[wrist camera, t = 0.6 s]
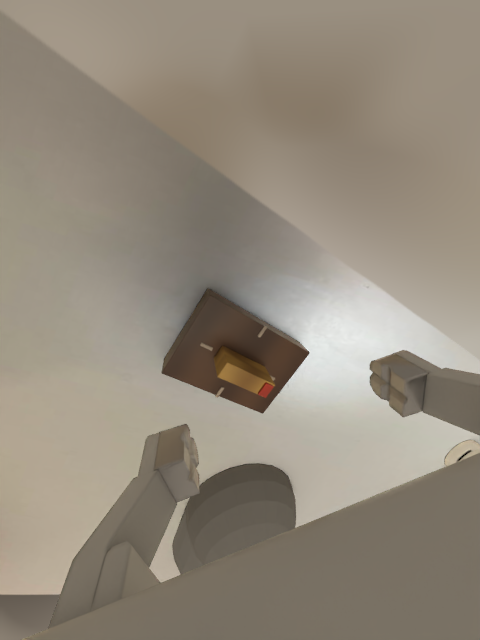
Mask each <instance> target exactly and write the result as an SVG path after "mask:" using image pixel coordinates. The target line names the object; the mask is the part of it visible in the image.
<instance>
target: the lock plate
mask: <svg viewBox="0 0 480 640" xmlns="http://www.w3.org/2000/svg"><path fill="white" fill-rule="evenodd" d="M222 346H224V347H226V348H228V349H230V350H232V351H234V352H236V353H238V354H240V355H242V356H244V357H246V358H248V359H250V360H252V361H254V362H256V363H258V364H260V365H262V366H264V367H265V368H266V369H267V371H268V373H269V375H270V377H271V378H272V380H273V382H274V384H275V386H274V387H273V389H272V390H271V391H270V393H269V394H268V395H267V397H266V398H265V397H262V396H260V395H258V394H256V393H253V392H251V391H249V390H246V389H244V388H242V387H239V386H237V385H235V384H233V383H230V382H228V381H226V380H223V379H221V378H219V377H217V373H216V367H215V362H214V357H215V356H216V354H217V353H218V351H219V350H220V348H221V347H222ZM308 354H309V352H308V351H307V350H306V349H305V347H304V346H303V345H302V344H301V343H300V342H298V341H297V340H295V339H293V338H292V337H290V336H288V335H286V334H285V333H283V332H281V331H280V330H278V329H276V328H275V327H273V326H271V325H270V324H268V323H266V322H264V321H263V320H261V319H259V318H258V317H256V316H254V315H253V314H251V313H249V312H248V311H246V310H244V309H242V308H241V307H239V306H237V305H236V304H234V303H232V302H231V301H229V300H227V299H226V298H224V297H222V296H221V295H219V294H217V293H215V292H214V291H212V290H210V289H209V288H208V289H207V290H206V292H205V294H204V295H203V297H202V298H201V300H200V302H199V303H198V305H197V306H196V308H195V310H194V311H193V313H192V315H191V316H190V318H189V319H188V321H187V323H186V324H185V326H184V328H183V329H182V331H181V332H180V334H179V336H178V337H177V339H176V340H175V342H174V344H173V345H172V347H171V349H170V350H169V352H168V353H167V355H166V357H165V358H164V363H163V368H162V373H163V374H165V375H168V376H170V377H173V378H175V379H178V380H180V381H183V382H185V383H188V384H190V385H193V386H195V387H198V388H200V389H203V390H205V391H208V392H210V393H213V394H215V396H216V397H219V396H220V397H223V398H225V399H228V400H230V401H233V402H235V403H238V404H240V405H243V406H245V407H248V408H250V409H253V410H255V411H258V412H260V413H264V411H265V410H266V409H267V407H268V406H269V405H270V404H271V402H272V401H273V400H274V398H275V397H276V396H277V395H278V393H279V392H280V391H281V389H282V388H283V387H284V385H285V384H286V383H287V382H288V380H289V379H290V378H291V376H292V375H293V374H294V373H295V371H296V370H297V369H298V367H299V366H300V365H301V364H302V362H303V361H304V360H305V358H306V357H307V356H308Z"/></svg>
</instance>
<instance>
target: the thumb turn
mask: <svg viewBox="0 0 480 640" xmlns="http://www.w3.org/2000/svg"><path fill="white" fill-rule="evenodd" d="M214 362H215V367H216V373H217V377H219V378H221V379H223V380H226V381H228V382H230V383H233V384H235V385H237V386H239V387H242V388H244V389H246V390H249V391H251V392H253V393H256V394H258V395H260V396H262V397H265V398H266V397H267V395H268V394H269V393H270V391H271V390H272V389H273V387H274V386H275V384H274V382H273V380H272V378H271V377H270V375H269V373H268V371H267V369H266V368H265V367H264V366H262V365H260V364H258V363H256V362H254V361H252V360H250V359H248V358H246V357H244V356H242V355H240V354H238V353H236V352H234V351H232V350H230V349H228V348H226V347H224V346H222V347H221V348H220V350H219V351H218V353H217V354H216V356H215V357H214Z"/></svg>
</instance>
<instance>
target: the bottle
mask: <svg viewBox="0 0 480 640" xmlns="http://www.w3.org/2000/svg"><path fill="white" fill-rule="evenodd" d="M469 450H471V451H472V452H470V453H468V454H467V455H465V456H464V457H463V458H462V459H461V460H463V459H466V458H468V457H471V456H473V455H476V454H478V453H480V445H479V444H478V443H477V442H475V441H473V440H467V441H464V442H462V443H460V444H458V445H457V446H455V447H454V448H453V449H452V450H451V451H450V452H449V453H448V455H447V456H446V458H445V465H446V466H449V465H451V464H453V463H456V462H458V461H457V460H458V459H459V458H460V457H461V456H462V455H463V454H465V453H466V452H468V451H469ZM461 460H460V461H461Z"/></svg>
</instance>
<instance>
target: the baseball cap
mask: <svg viewBox="0 0 480 640" xmlns="http://www.w3.org/2000/svg"><path fill="white" fill-rule="evenodd" d="M295 524H296V505H295V497H294V493H293V490H292V486H291V483H290V480H289V478H288V476H287V475H286V474H285V473H284V472H283V471H282V470H280V469H277V468H275V467H273V466H269V465H263V464H248V465H242V466H238V467H234V468H230V469H227V470H225V471H223V472H221V473H218V474H216V475H214V476H213V477H211V478H210V479H208V480H207V481H205V482H204V483H202V485H201V486H200V493H199V494H197V495H194V496H192V497H191V498H190V499H189V501H188V503H187V506H186V509H185V511H184V514H183V516H182V519H181V522H180V524H179V527H178V530H177V532H176V535H175V537H174V540H173V555H174V559H175V562H176V565H177V567H178V569H179V571H180V573H181V575H182V574H184V573H187V572H189V571H191V570H194V569H196V568H199V567H201V566H204V565H206V564H209V563H211V562H213V561H216V560H218V559H221V558H223V557H226V556H228V555H231V554H233V553H236V552H238V551H240V550H243V549H245V548H248V547H250V546H253V545H255V544H258V543H260V542H262V541H265V540H267V539H270V538H272V537H275V536H277V535H280V534H282V533H284V532H287V531H289V530H292V529H294V528H295Z"/></svg>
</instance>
